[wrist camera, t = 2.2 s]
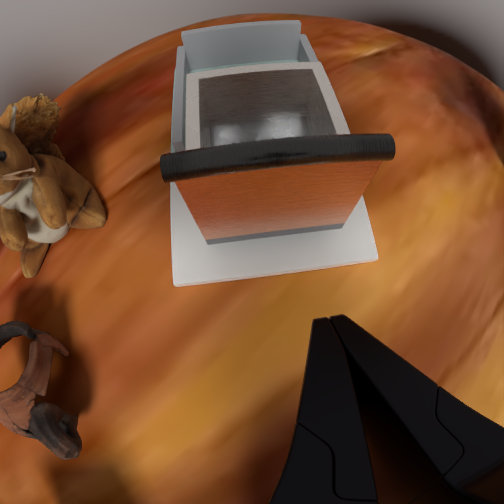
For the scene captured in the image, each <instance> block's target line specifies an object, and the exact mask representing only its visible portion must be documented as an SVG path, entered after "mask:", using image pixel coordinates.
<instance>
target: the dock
mask: <svg viewBox="0 0 504 504" xmlns="http://www.w3.org/2000/svg"><path fill="white" fill-rule="evenodd" d="M300 32H301V23H300V21H299V20H282V21H260V22H247V23H236V24H227V25H219V26H212V27H205V28H199V29H193V30H188V31H183V32H182V34H181V36H182V40H183V44H184V46H179V47H178V49H177V60H176V69H175V76H174V90H173V107H172V128H171V153H174V152H179V151H185V150H186V76H187V74H190V73H195V72H201V71H208V70H214V69H221V68H229V67H237V66H247V65H258V64H271V63H290V62H318V60H317V57H316V55H315V53H314V51H313V49H312V47H311V45H310V43H309V41H308V39H307V37H306V35H305V34H300ZM170 209H171V248H172V270H173V285H174V286H176V287H181V286H190V285H199V284H208V283H216V282H225V281H233V280H241V279H249V278H257V277H265V276H273V275H281V274H288V273H296V272H303V271H310V270H318V269H325V268H332V267H339V266H346V265H353V264H360V263H366V262H373V261H376V260H377V259H378V253H377V249H376V245H375V240H374V236H373V232H372V228H371V224H370V220H369V217H368V213H367V209H366V206H365V202H364V198H363V195H362V196H361V198H360V200H359V201H358V203H357V204H356V206H355V208H354V209H353V211H352V213H351V214H350V216H349V217H348V219H347V221H346V222H345V224H344V225H343V227H342V228H341V229H333V230H324V231H316V232H308V233H299V234H291V235H283V236H275V237H266V238H258V239H250V240H243V241H235V242H227V243H219V244H211V245H208V244H207V242H206V241H205V239H204V237H203V235H202V233H201V231H200V229H199V228H198V226H197V224H196V222H195V220H194V218H193V216H192V214H191V212H190V211H189V209H188V207H187V205H186V203H185V201H184V199H183V197H182V195H181V193H180V192H179V190H178V188H177V186H176V184H175V182H170Z"/></svg>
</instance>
